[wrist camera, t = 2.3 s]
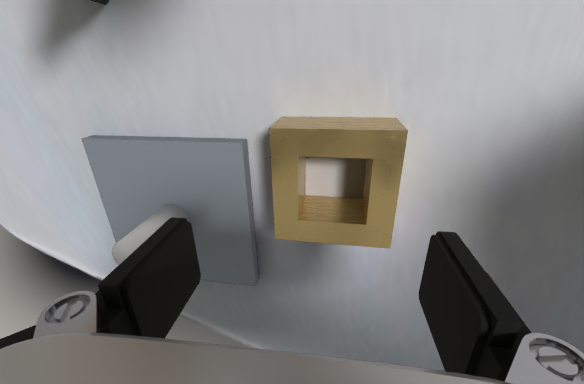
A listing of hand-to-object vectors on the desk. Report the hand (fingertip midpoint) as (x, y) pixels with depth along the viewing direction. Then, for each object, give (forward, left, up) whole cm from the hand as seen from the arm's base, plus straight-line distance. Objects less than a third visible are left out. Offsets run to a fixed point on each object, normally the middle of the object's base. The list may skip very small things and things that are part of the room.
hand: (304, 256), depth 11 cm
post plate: (+11, +4, -9) cm, 15 cm away
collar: (-1, 0, -9) cm, 9 cm away
